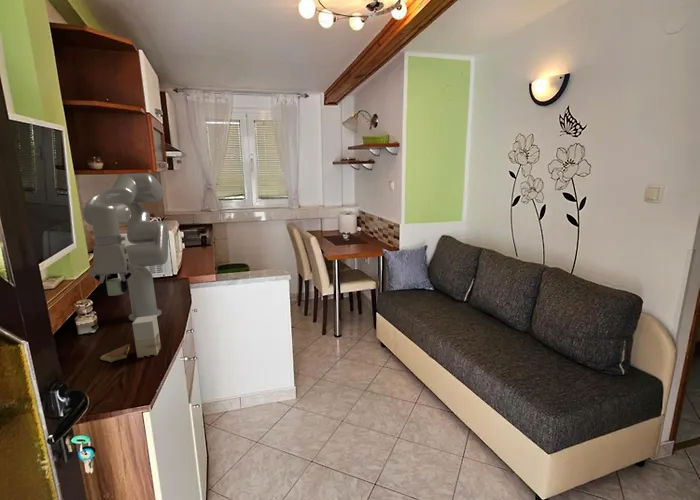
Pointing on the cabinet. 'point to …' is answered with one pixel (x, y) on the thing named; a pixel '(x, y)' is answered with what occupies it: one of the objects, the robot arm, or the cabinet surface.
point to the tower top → (145, 327)
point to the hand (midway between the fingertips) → (116, 291)
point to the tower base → (148, 346)
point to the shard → (116, 354)
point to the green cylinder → (114, 286)
